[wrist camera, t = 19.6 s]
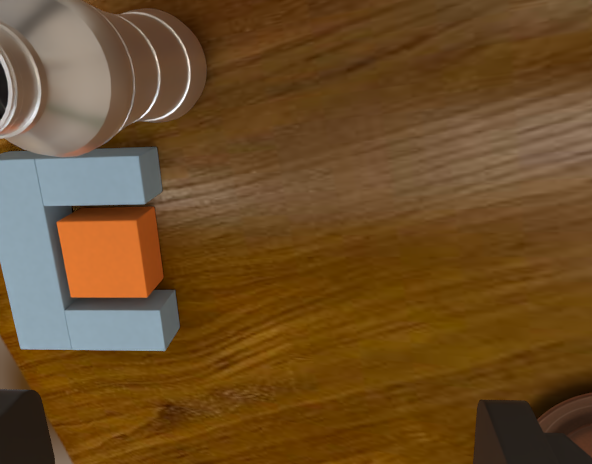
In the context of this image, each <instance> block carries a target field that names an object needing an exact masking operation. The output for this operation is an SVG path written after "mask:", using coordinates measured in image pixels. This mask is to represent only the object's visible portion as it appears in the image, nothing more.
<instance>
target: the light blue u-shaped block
mask: <svg viewBox="0 0 592 464" xmlns="http://www.w3.org/2000/svg"><path fill="white" fill-rule="evenodd" d="M161 192H162V183H161V175H160V167H159V159H158V151H157V147H138V148H106V149H94V150H92V151H90V152H88V153H85V154H82V155H79V156H75V157H55V156H47V155H42V154H36V153H33V152H30V151H9V152H5V153H2V154H0V262H1V267H2V271H3V275H4V280H5V284H6V288H7V293H8V297H9V301H10V306H11V310H12V314H13V318H14V323H15V327H16V331H17V336H18V340H19V344H20V348H21V349H55V350H139V351H165V350H166V349H167V347H168V346H169V344H170V342H171V341H172V339H173V338H174V336H175V334H176V333H177V331H178V330H179V328H180V324H179V316H178V308H177V300H176V292H175V290H153V291H152V293H151V294H150V295H149V296H148V297H147V298H72V297H71V295H70V290H69V285H68V280H67V274H66V269H65V264H64V259H63V254H62V248H61V243H60V238H59V233H58V228H57V221H59V220H61V219H63V218H64V217H66V216H68V215H70V214H71V213H72V207H71V206H83V205H135V204H146V203H147V202H149V201H150V200H151V199H153V198H154V197H155V196H157V195H158V194H160V193H161Z"/></svg>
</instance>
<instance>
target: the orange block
mask: <svg viewBox="0 0 592 464" xmlns="http://www.w3.org/2000/svg"><path fill="white" fill-rule="evenodd" d="M57 228H58V233H59V238H60V243H61V248H62V254H63V259H64V264H65V269H66V274H67V280H68V285H69V290H70V295H71V297H72V298H147V297H148V296H149V295H150V294H151V293H152V291H153V290H154V289H155V288H156V287H157V285H158V284H159V283H160V282H161V281H162V279H163V278H164V276H163V268H162V261H161V253H160V246H159V238H158V231H157V223H156V216H155V208H154V207H102V208H80V209H78V210H77V211H75V212H73V213H71V214H70V215H68V216H66V217H64V218H63V219H61V220H59V221H57Z"/></svg>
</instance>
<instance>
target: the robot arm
mask: <svg viewBox="0 0 592 464" xmlns="http://www.w3.org/2000/svg"><path fill="white" fill-rule="evenodd" d="M0 464H55V458H54V453H53V449H52V444H51V439H50V435H49V430H48V426H47V422H46V417H45V413H44V408H43V404H42V400H41V397H40V395H39V394H38V393H37V392H36V391H34V390H7V389H6V390H5V389H0ZM473 464H592V458H591V456H590V455H588V454H587V453H586V452H585V451H584V450H583V449H581V448H580V447H579V446H578V445H577V444H576V443H574V442H573V441H572V440H571V439H570V438H569V437H567V436H566V435H565V434H564V433H544V432H543V430H542V428H541V426H540V425H539V423H538V421H537V419H536V417H535V415H534V413H533V411H532V409H531V407H530V405H529V404H528V402H526V401H516V400H480V401H479V403H478V407H477V418H476V432H475V447H474V461H473Z"/></svg>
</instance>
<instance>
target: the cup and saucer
mask: <svg viewBox="0 0 592 464" xmlns="http://www.w3.org/2000/svg"><path fill="white" fill-rule="evenodd" d="M537 421H538V423H539V425H540V426H541V428H542V430H543V432H544V433H564V434H565V435H566V436H567V437H569V438H570V439H571V440H572V441H573V442H574V443H576V444H577V445H578V446H579V447H580V448H581V449H583V450H584V451H585V452H586V453H587V454H588V455H590V456H591V458H592V393H587V394H583V395H579V396H576V397H573V398H570V399H568V400H565V401H563V402H561V403H559V404H557V405H555V406H554V407H552V408H551V409H549V410H548V411H547V412H545V413H544V414H543V415H542V416H540V417H539V418H538V419H537Z"/></svg>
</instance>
